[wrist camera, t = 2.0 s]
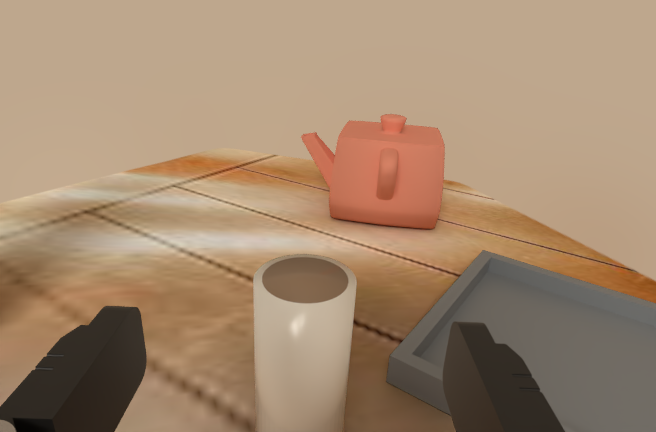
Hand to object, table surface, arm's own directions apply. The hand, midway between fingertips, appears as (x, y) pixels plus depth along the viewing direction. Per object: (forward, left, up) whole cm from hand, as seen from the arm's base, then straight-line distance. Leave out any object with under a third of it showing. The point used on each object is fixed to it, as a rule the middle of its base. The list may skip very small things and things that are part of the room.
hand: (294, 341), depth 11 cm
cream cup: (-7, +9, -17) cm, 20 cm away
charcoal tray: (+6, +28, -17) cm, 33 cm away
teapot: (-24, +46, -17) cm, 55 cm away
